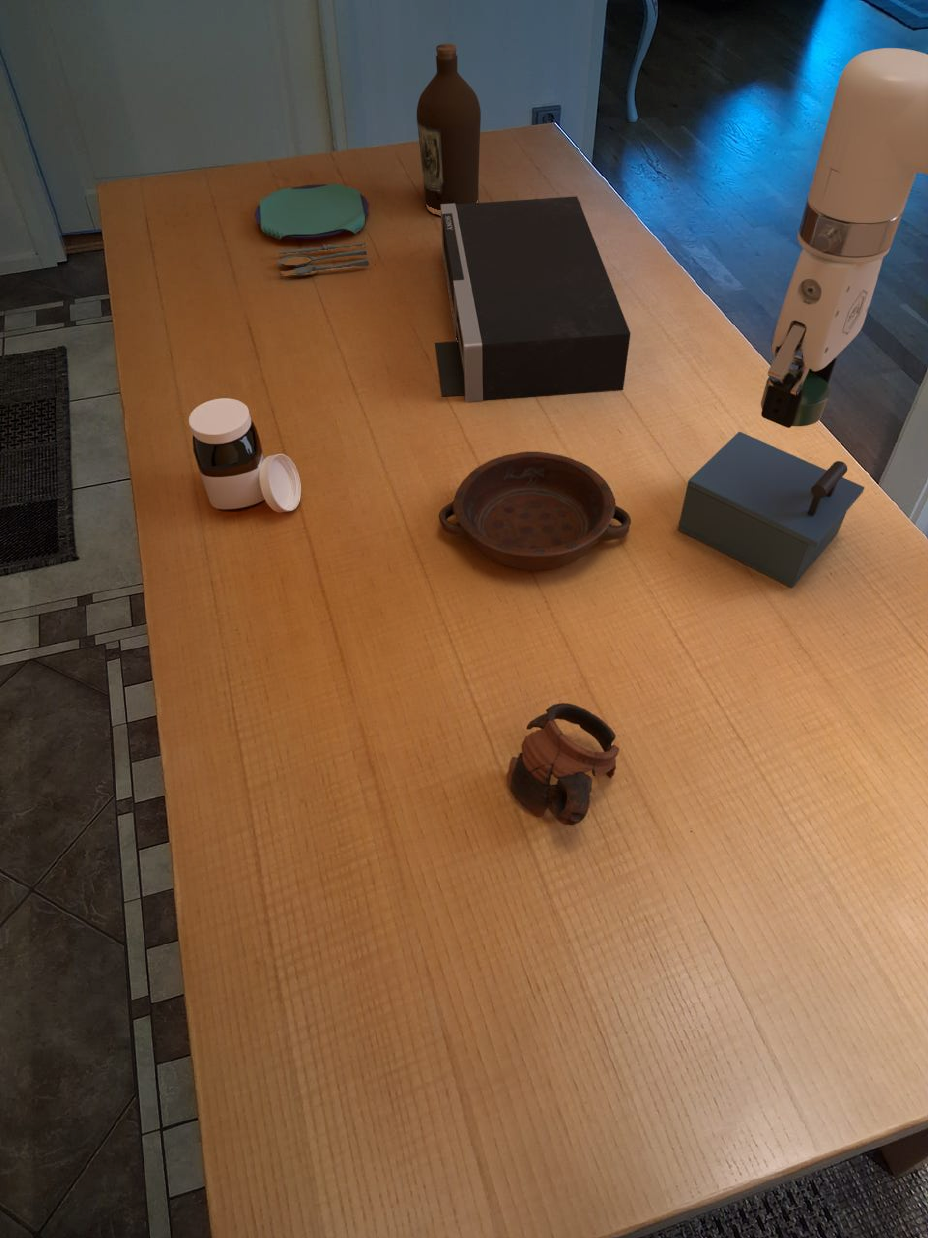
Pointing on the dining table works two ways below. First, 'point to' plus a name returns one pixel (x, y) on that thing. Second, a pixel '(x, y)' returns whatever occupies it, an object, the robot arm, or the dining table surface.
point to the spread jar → (239, 460)
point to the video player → (528, 303)
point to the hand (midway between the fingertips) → (793, 403)
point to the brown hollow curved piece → (560, 764)
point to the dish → (534, 510)
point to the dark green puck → (808, 398)
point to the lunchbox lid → (778, 487)
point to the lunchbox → (749, 538)
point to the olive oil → (449, 134)
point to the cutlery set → (314, 219)
